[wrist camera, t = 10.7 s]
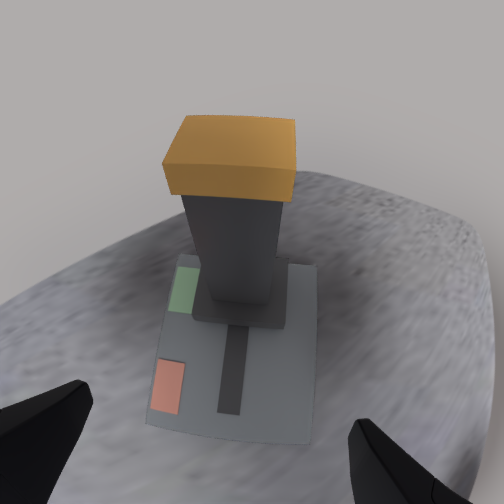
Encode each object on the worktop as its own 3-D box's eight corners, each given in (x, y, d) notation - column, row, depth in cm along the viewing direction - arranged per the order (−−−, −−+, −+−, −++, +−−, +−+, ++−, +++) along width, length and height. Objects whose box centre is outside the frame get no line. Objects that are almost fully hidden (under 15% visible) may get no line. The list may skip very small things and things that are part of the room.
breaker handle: (283, 329, 15) (331, 197, 6) (194, 320, 15) (123, 185, 6) (286, 266, 17) (318, 110, 8) (206, 259, 17) (170, 105, 8)
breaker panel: (303, 440, 14) (310, 444, 12) (156, 422, 14) (144, 423, 12) (311, 279, 19) (317, 265, 18) (185, 267, 20) (178, 252, 18)
